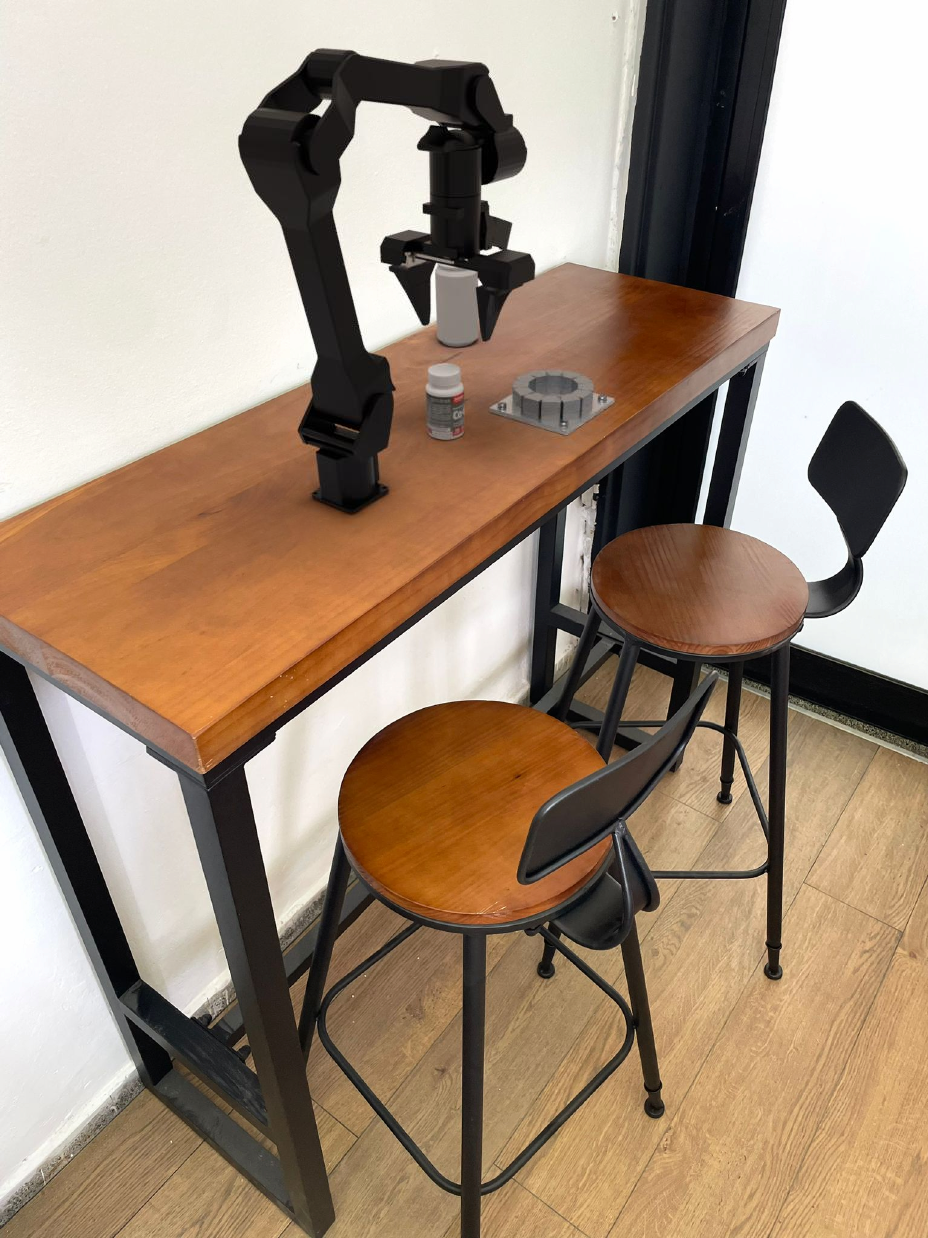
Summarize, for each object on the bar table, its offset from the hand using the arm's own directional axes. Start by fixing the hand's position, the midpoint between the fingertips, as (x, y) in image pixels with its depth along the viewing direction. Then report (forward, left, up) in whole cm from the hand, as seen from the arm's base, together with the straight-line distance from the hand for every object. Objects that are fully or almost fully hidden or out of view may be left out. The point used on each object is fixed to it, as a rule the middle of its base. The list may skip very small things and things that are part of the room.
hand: (455, 332), depth 111 cm
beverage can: (+24, +18, -13) cm, 33 cm away
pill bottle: (-2, 0, -13) cm, 13 cm away
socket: (+12, -7, -12) cm, 19 cm away
